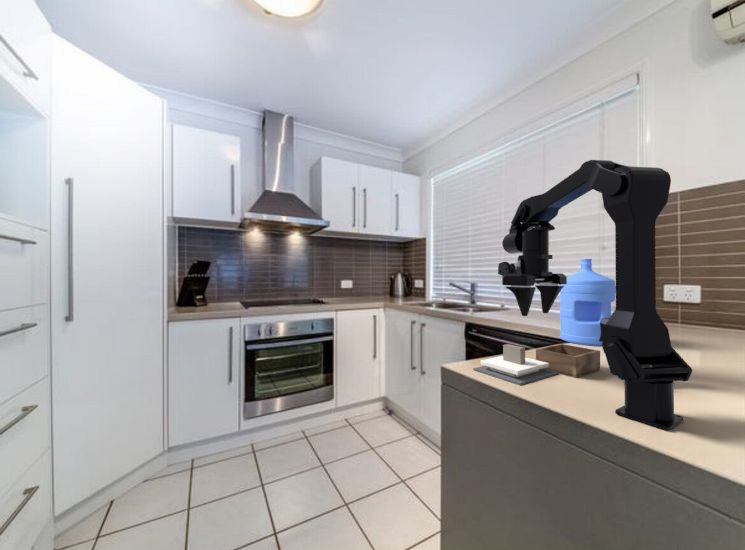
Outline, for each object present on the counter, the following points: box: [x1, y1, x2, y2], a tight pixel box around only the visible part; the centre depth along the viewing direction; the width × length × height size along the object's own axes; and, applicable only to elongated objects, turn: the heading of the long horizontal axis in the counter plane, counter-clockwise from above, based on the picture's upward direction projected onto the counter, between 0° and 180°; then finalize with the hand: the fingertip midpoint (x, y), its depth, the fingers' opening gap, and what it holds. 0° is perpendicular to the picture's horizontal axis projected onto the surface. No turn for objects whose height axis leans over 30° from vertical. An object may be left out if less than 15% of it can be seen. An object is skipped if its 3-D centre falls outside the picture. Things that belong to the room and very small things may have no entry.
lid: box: [479, 343, 549, 377], centre depth 71 cm, size 12×10×6 cm
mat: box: [473, 365, 559, 386], centre depth 71 cm, size 14×12×1 cm
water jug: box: [559, 258, 616, 347], centre depth 104 cm, size 16×16×28 cm
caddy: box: [535, 343, 601, 378], centre depth 73 cm, size 11×9×4 cm
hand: (535, 314), depth 75 cm, fingers open, 9 cm apart
